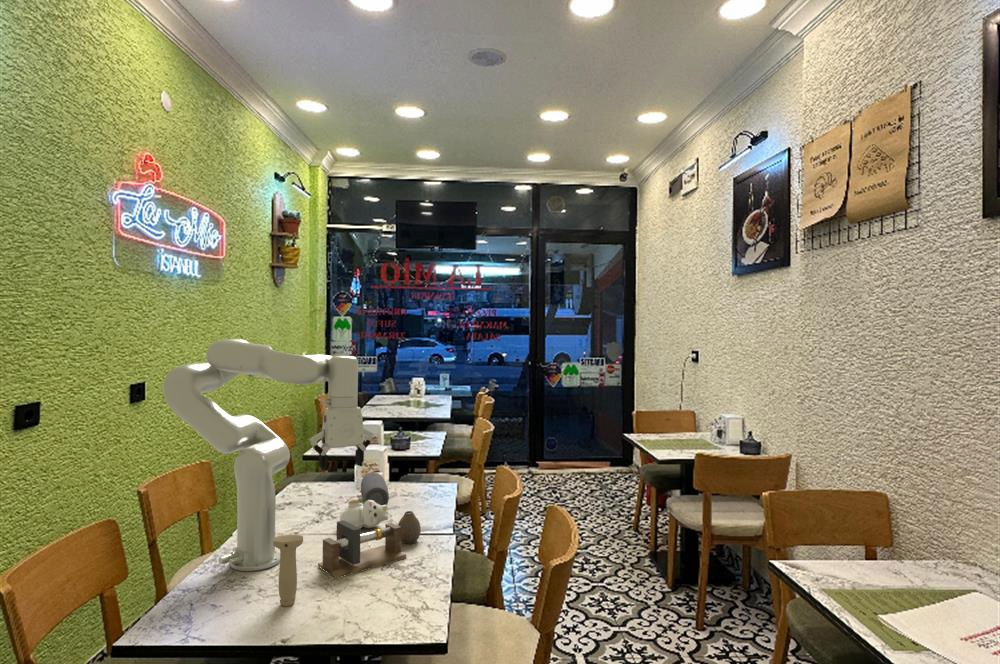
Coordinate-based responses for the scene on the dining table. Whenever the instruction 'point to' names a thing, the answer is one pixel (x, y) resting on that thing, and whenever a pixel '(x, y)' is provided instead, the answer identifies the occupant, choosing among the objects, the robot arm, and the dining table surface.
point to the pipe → (368, 536)
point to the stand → (362, 555)
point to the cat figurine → (364, 513)
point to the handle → (287, 567)
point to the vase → (409, 528)
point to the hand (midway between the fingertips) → (341, 467)
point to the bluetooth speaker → (374, 489)
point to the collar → (349, 542)
